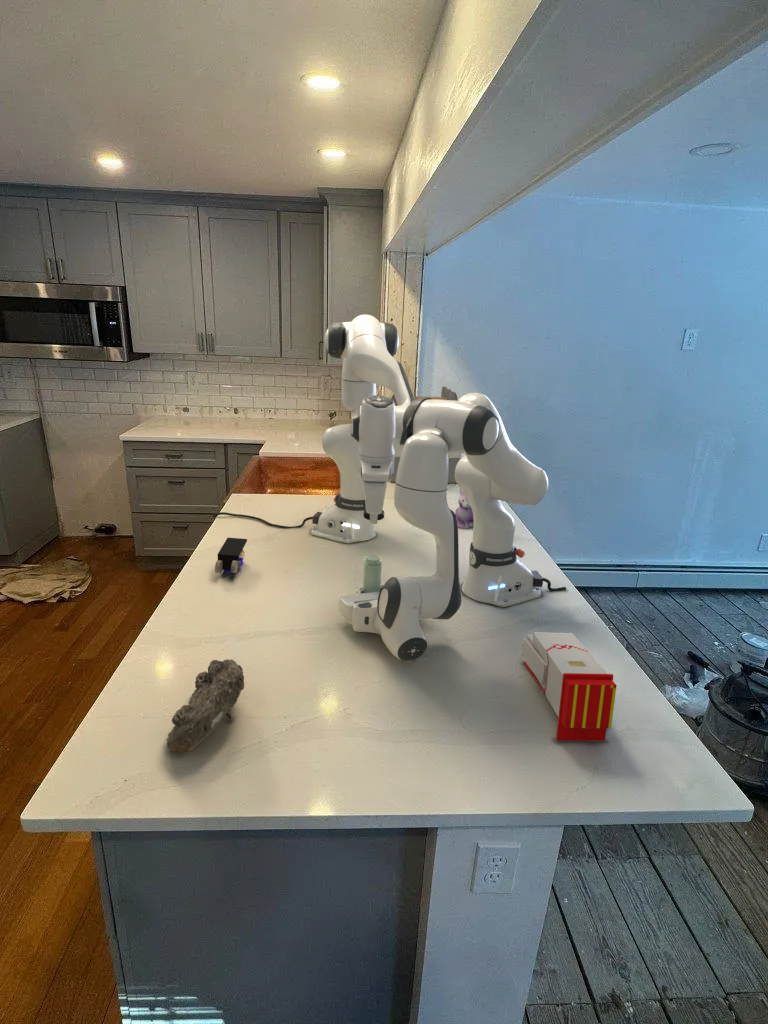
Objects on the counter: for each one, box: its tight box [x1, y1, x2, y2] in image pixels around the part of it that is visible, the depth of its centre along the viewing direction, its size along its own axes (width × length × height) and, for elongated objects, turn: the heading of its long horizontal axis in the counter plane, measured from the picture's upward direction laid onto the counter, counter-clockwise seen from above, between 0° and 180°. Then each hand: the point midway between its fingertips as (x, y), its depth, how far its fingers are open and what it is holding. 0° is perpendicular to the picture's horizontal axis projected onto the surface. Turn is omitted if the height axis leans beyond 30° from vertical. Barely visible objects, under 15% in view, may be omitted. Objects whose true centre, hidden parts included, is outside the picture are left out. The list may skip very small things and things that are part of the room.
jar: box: [362, 554, 383, 593], centre depth 148 cm, size 5×5×14 cm
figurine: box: [454, 487, 474, 529], centre depth 209 cm, size 9×10×15 cm
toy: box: [520, 631, 618, 742], centre depth 117 cm, size 12×13×30 cm
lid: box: [363, 509, 385, 521], centre depth 142 cm, size 5×5×2 cm
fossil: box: [166, 658, 245, 754], centre depth 106 cm, size 22×10×15 cm
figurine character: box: [214, 537, 248, 578], centre depth 166 cm, size 7×8×15 cm
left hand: (373, 518), depth 142 cm, fingers closed on lid, 5 cm apart
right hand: (370, 589), depth 149 cm, fingers closed on jar, 4 cm apart
